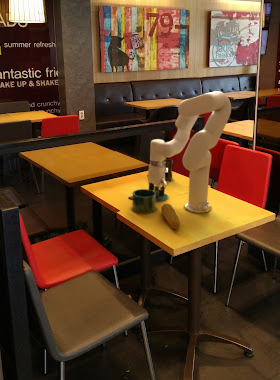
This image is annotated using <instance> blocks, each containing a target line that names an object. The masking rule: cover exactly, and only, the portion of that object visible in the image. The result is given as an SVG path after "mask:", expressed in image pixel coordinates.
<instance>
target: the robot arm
mask: <svg viewBox="0 0 280 380" xmlns="http://www.w3.org/2000/svg"><path fill="white" fill-rule="evenodd" d="M177 111H178V114H179V115H178V117H177V119H176V120H175V123H174V125H175V127H176V128H177V131H176V133H175V135H174V137H173V138H172V140H170V141H166V142H165V140H163V139H160V138H156V139H152V140H151V141H150V146H149V147H150V149H149V165H148V171H147V175H146V177H147V183H148V190H152V191H154V186H159V197H162V196H164V193H165V190H166V188H167V186H168V183H167V181H165V169H164V168H165V165H164V163H165V161H164V159H165V158H164V157H166V158H171V157H172V158H173V156H175V155H178V154H180V153H181V152H182V151H183V150H184V148H185V147H186V145H187V147H186V149H185V152H184V154H183V156H182V166H183V167H184V168H185V169H186V170H187V171H189V178H188V197H187V198H188V199H187V200H188V201H187V202H186V203H185V205H184V208H185V209H186V210H187V211H189V212H191V213H196V214H204V213H207V212H209V211H210V210H211V209H212V208H213V207H212V206H211V205H210V202H209V200H208V198H209V181H210V180H209V179H210V168H211V163H212V153H211V152H210V150H211V149H213V148H214V147H215V146H217V144H218V142H219V141H220V137H221V136H222V133H223V131H224V130H225V127H226V125H227V124H228V121H229V119H230V116H231V113H232V104H231V101H230V98H229V96H227V95H226V93H224V92H222V91H212V92H207V93H203V94H200V95H198V96H194V97H191V98H186V99H184V100H182V101H181V102H179V104H178V109H177ZM208 113H211V114H210V116H209V117H208V118H207V121H206V124H205V125H204V127H203V129H202V130H199V131H198V132H195V133H194V134H193V136H192V137H191V139H190V140H189V138H190V135H191V131H192V128H193V127H194V125H195V123H196V121H198V118H199V116H200V115H203V114H208ZM188 141H189V143H188Z"/></svg>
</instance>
